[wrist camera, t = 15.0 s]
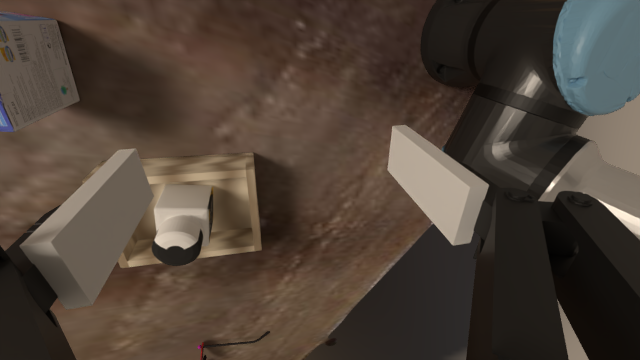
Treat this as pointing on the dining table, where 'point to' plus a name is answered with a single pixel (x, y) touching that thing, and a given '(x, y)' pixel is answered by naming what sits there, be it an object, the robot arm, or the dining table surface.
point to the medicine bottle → (182, 223)
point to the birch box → (228, 203)
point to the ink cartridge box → (32, 71)
